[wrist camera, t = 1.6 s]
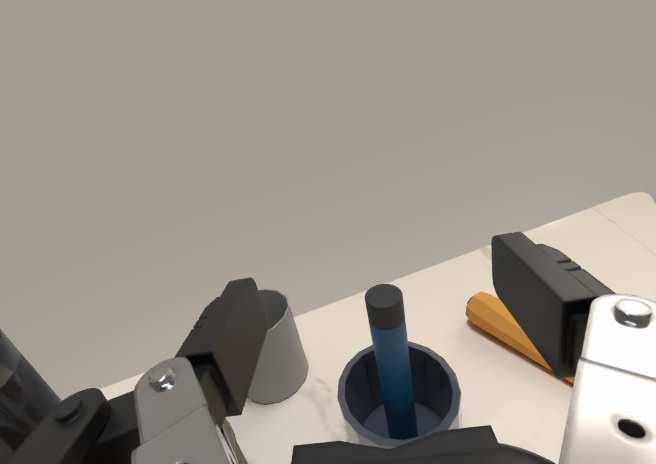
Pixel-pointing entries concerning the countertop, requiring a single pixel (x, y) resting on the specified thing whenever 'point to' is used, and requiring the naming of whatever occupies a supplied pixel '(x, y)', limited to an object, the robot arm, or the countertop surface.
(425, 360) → the pen pot
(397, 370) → the marker
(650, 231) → the countertop surface
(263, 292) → the cup
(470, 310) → the carrot
